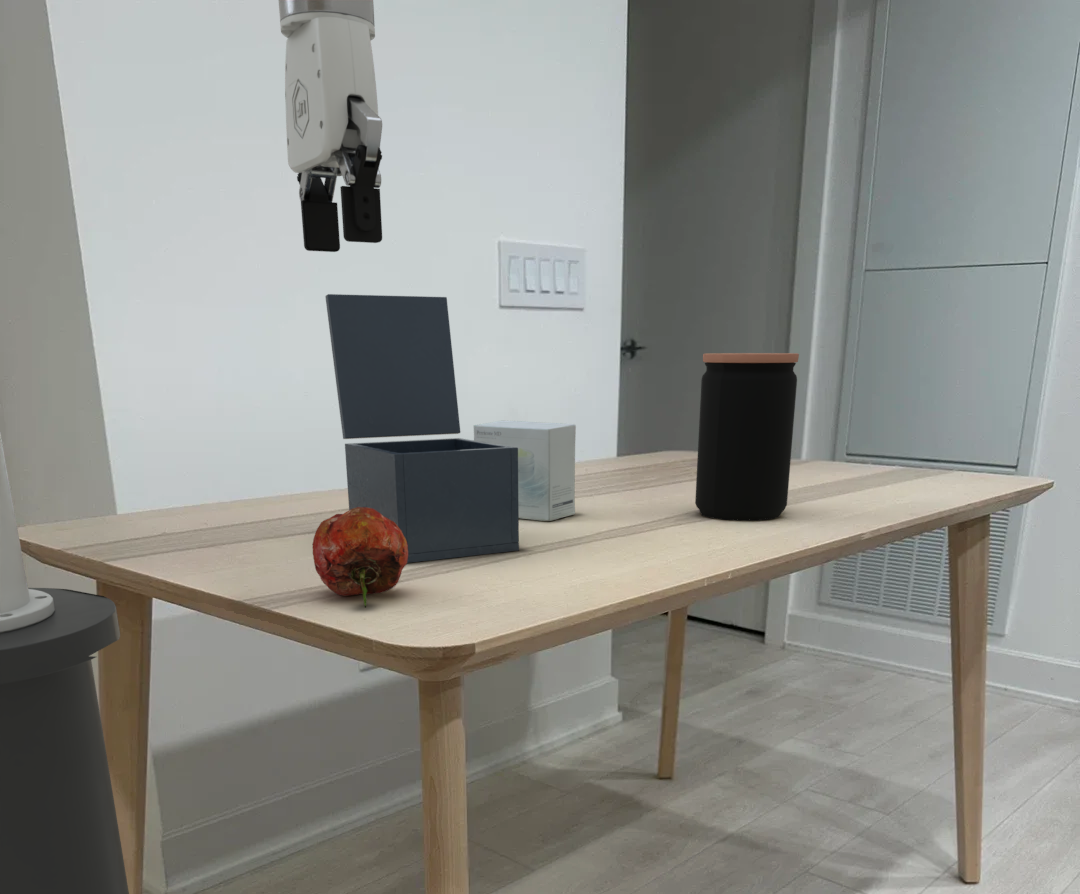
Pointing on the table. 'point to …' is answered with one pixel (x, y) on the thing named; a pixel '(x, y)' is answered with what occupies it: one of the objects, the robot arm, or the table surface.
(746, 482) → the coffee jar
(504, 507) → the tea tin
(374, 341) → the tin lid
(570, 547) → the table surface
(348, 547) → the pomegranate
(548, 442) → the cosmetics box
